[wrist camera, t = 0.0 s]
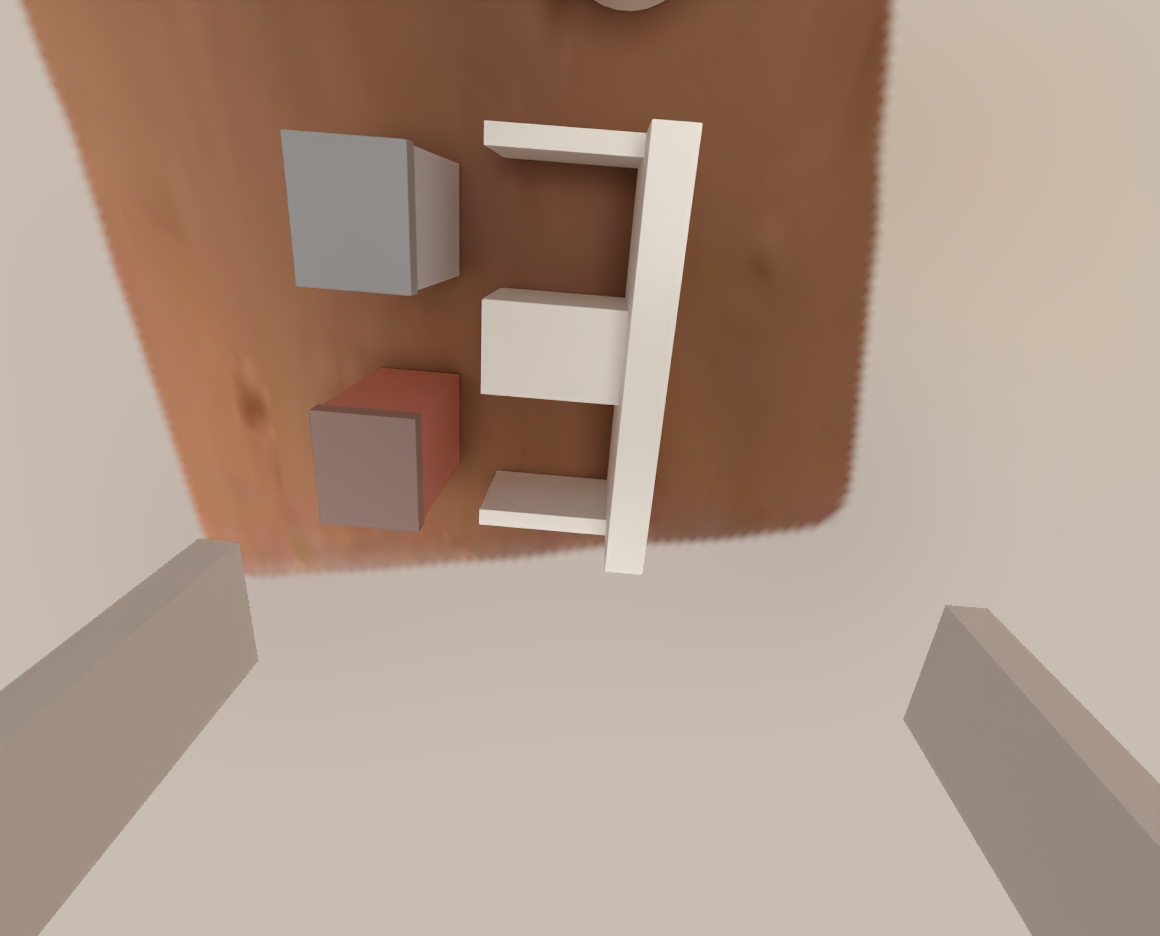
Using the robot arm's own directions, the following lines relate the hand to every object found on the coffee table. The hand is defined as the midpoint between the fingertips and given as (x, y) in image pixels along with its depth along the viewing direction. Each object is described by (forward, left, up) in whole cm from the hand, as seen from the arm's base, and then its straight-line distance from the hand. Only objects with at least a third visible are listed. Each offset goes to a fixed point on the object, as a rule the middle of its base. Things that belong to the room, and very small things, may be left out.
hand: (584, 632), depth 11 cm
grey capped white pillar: (-7, -11, -28) cm, 31 cm away
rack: (-1, -2, -28) cm, 28 cm away
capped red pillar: (+5, -11, -28) cm, 31 cm away
